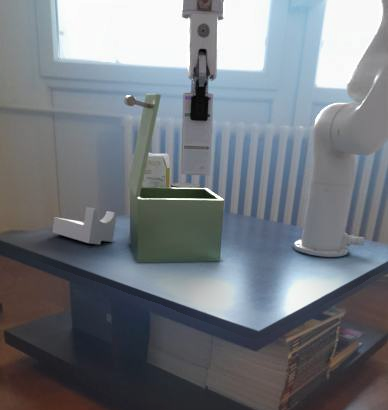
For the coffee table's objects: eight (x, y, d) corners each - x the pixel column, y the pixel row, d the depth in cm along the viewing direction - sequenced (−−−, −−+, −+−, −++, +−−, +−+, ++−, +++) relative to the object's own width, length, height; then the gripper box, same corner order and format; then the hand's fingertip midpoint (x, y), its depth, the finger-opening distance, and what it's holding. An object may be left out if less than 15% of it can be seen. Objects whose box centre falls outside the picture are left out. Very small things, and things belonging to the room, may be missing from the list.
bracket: (111, 246, 117) (117, 213, 115) (88, 243, 111) (94, 208, 110) (75, 235, 124) (80, 204, 122) (52, 232, 118) (56, 199, 117)
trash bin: (203, 243, 120) (207, 188, 114) (219, 261, 107) (224, 200, 101) (130, 244, 116) (129, 186, 110) (137, 262, 103) (137, 199, 97)
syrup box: (210, 175, 98) (215, 93, 92) (180, 174, 98) (183, 91, 91) (209, 172, 103) (213, 93, 97) (180, 170, 103) (183, 91, 97)
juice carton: (162, 239, 121) (164, 156, 113) (128, 235, 123) (128, 153, 115) (170, 232, 128) (173, 153, 120) (138, 229, 129) (138, 150, 121)
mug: (182, 228, 132) (183, 189, 128) (158, 223, 136) (159, 185, 132) (204, 222, 140) (206, 185, 136) (181, 217, 144) (182, 181, 140)
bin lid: (149, 95, 103) (124, 87, 101) (161, 95, 90) (131, 86, 89) (131, 185, 110) (107, 179, 108) (139, 197, 97) (111, 190, 96)
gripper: (229, 0, 81) (221, 122, 89) (219, 16, 96) (213, 119, 104) (183, -3, 80) (179, 120, 88) (180, 14, 96) (177, 117, 104)
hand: (197, 118), depth 96 cm, fingers closed on syrup box, 5 cm apart
